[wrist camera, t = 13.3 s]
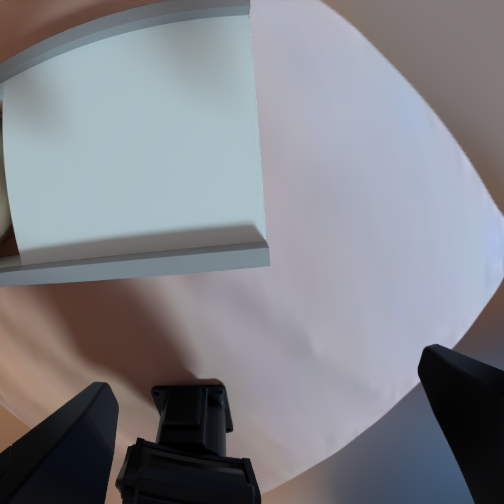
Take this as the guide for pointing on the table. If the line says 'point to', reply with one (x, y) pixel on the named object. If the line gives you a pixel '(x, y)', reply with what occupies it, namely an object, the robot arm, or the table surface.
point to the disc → (4, 196)
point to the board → (135, 147)
